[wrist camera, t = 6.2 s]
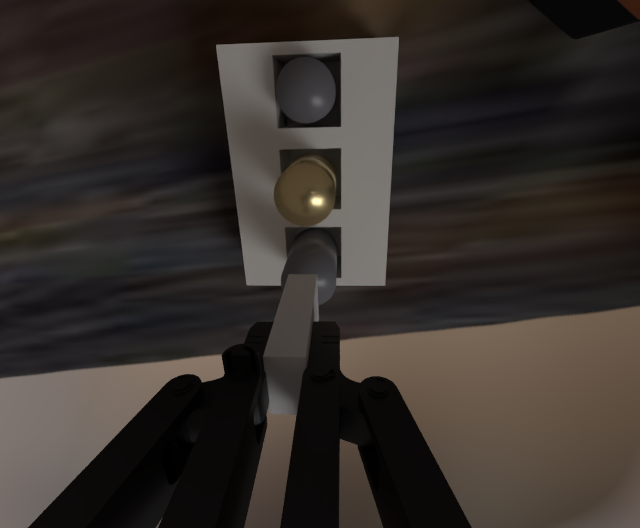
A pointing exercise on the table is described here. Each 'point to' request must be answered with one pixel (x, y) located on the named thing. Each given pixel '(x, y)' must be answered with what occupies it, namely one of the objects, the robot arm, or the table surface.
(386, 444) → the robot arm
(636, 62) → the table surface
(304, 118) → the knob
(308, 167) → the brass pot knob
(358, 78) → the knob housing
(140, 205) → the table surface
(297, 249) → the knob
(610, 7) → the battery
